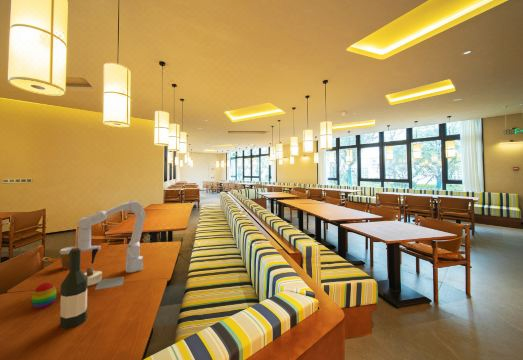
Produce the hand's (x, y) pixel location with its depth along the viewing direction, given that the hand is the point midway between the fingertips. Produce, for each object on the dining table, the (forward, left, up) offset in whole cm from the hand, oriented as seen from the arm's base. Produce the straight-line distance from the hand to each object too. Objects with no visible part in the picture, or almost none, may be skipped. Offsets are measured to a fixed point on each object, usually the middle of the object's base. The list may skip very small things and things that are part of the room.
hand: (83, 264), depth 122 cm
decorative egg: (+11, +18, -11) cm, 24 cm away
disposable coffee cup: (+13, -30, -11) cm, 34 cm away
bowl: (-3, +2, -10) cm, 11 cm away
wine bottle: (-4, +39, -11) cm, 41 cm away
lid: (-3, +3, -6) cm, 8 cm away
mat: (-13, +8, -10) cm, 19 cm away
